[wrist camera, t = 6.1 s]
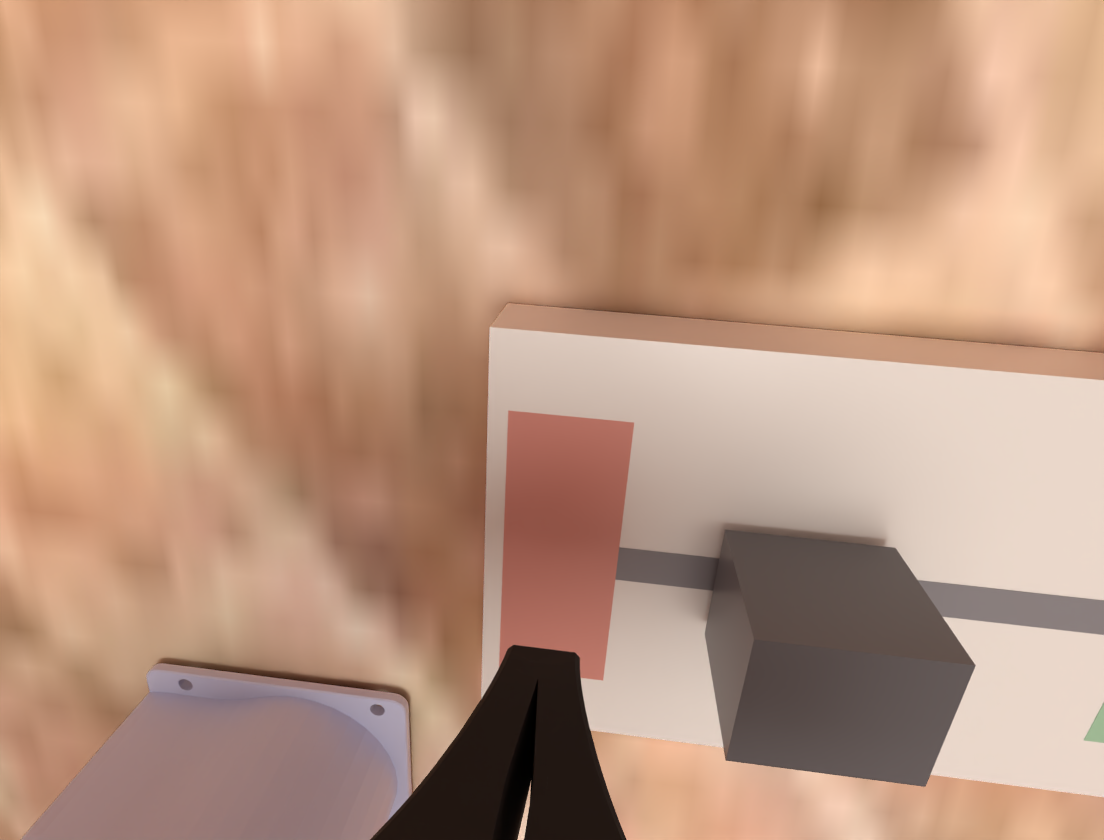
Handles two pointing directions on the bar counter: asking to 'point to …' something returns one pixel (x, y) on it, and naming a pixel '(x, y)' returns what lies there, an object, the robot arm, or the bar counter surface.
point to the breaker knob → (830, 659)
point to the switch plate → (799, 511)
